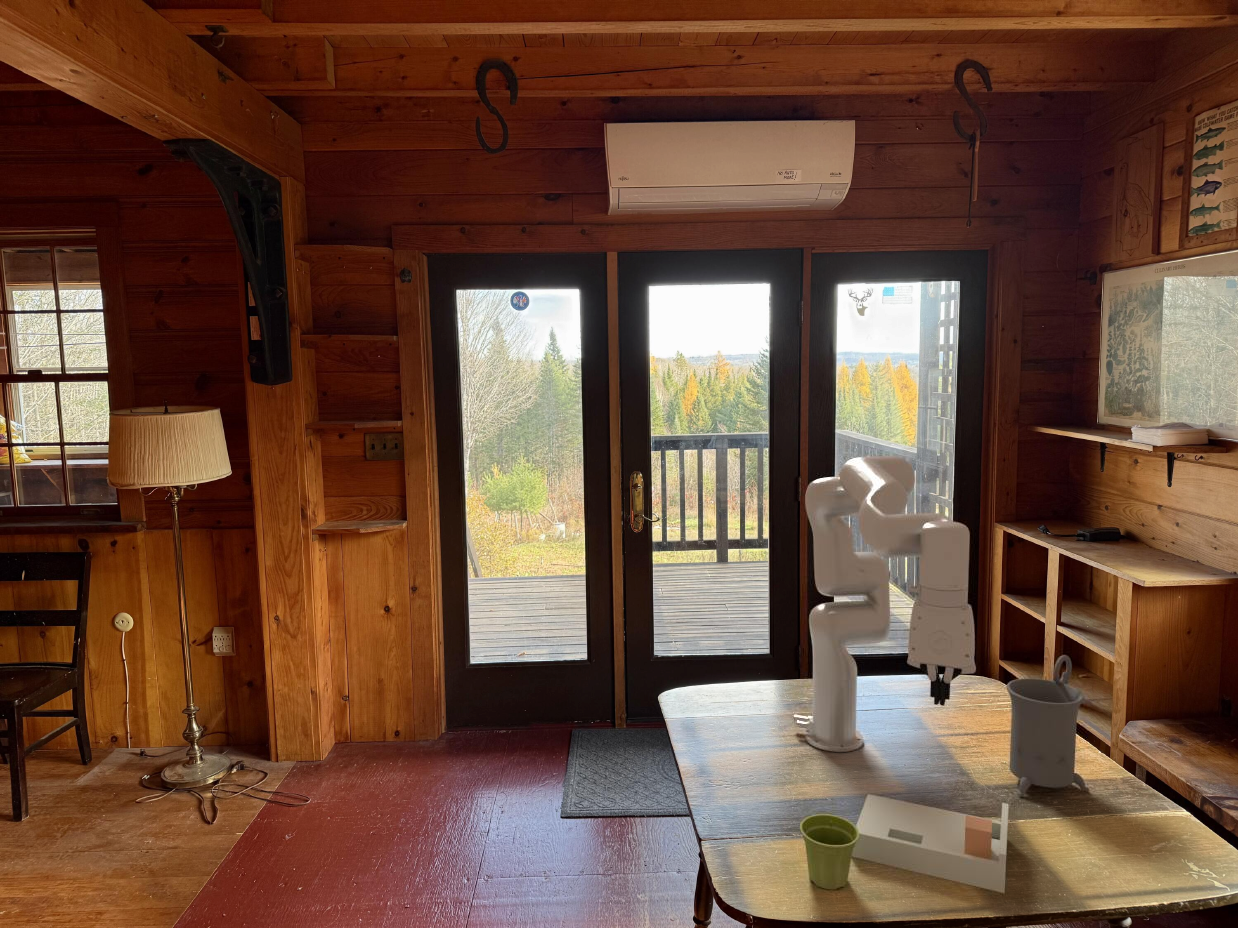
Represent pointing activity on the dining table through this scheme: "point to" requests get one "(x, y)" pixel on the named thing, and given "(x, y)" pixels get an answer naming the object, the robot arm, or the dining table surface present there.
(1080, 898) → the dining table surface
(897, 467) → the robot arm
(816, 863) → the plant pot
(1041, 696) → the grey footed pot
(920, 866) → the tray
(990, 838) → the block
